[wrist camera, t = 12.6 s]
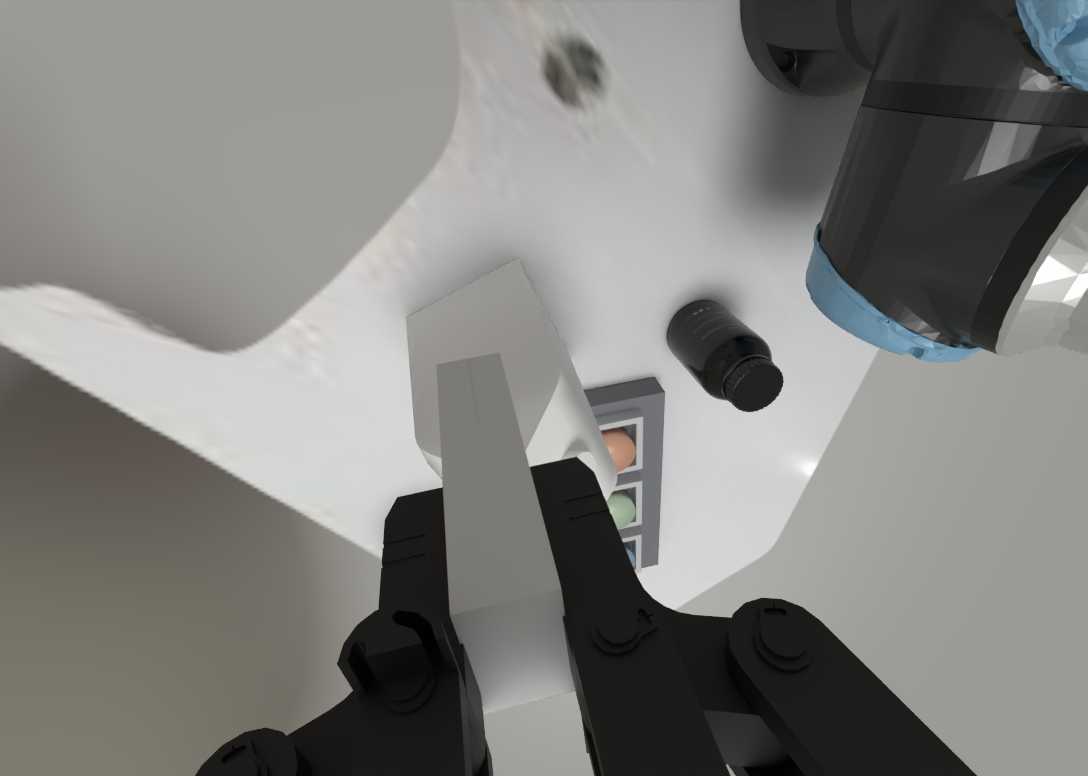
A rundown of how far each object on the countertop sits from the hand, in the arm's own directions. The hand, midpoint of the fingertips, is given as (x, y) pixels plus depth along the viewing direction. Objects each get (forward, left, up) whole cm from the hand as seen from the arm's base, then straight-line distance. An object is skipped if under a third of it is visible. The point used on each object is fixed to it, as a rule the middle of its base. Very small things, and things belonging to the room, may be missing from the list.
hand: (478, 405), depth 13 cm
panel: (-12, +39, -34) cm, 53 cm away
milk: (-2, +17, -35) cm, 38 cm away
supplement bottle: (-23, +20, -35) cm, 46 cm away
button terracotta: (-12, +30, -31) cm, 44 cm away
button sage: (-12, +38, -30) cm, 51 cm away
